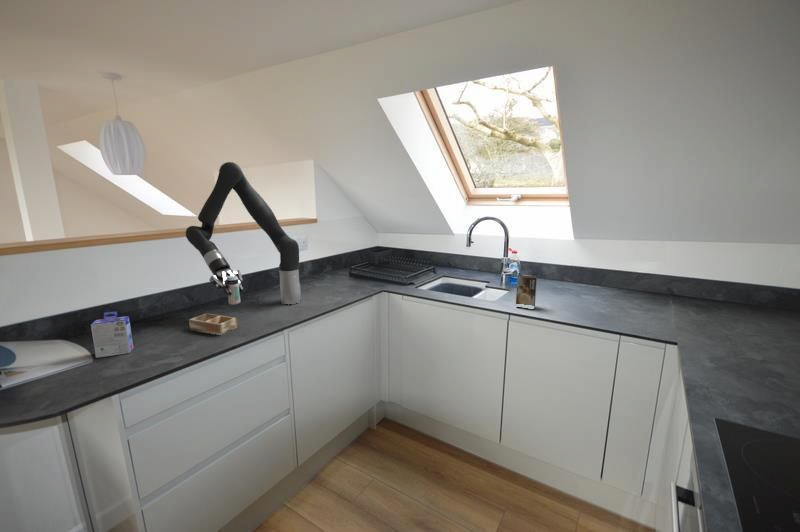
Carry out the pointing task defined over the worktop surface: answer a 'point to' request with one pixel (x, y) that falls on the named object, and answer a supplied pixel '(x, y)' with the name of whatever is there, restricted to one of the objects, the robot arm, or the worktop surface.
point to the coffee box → (526, 289)
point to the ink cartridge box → (112, 335)
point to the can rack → (213, 324)
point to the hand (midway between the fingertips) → (236, 292)
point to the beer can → (233, 290)
